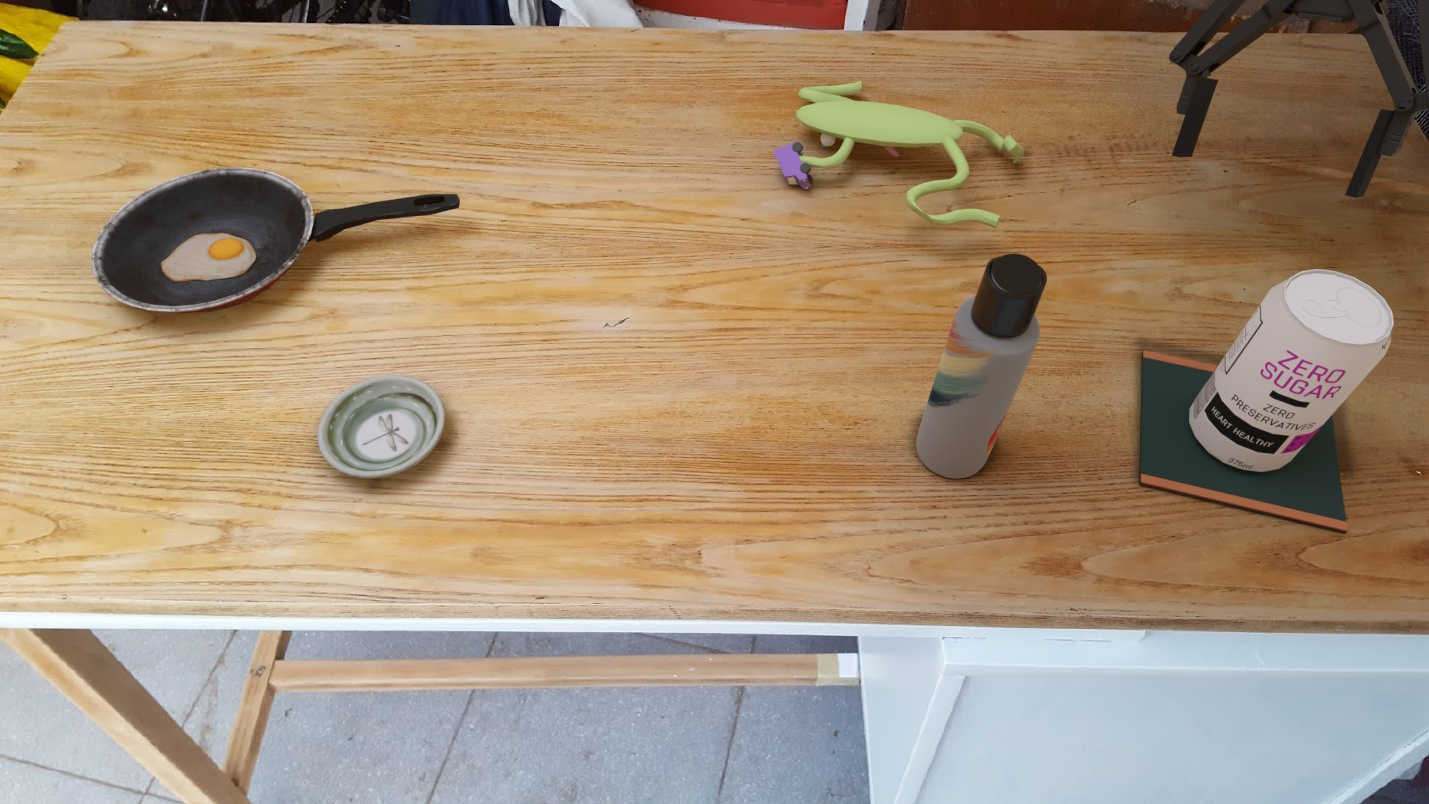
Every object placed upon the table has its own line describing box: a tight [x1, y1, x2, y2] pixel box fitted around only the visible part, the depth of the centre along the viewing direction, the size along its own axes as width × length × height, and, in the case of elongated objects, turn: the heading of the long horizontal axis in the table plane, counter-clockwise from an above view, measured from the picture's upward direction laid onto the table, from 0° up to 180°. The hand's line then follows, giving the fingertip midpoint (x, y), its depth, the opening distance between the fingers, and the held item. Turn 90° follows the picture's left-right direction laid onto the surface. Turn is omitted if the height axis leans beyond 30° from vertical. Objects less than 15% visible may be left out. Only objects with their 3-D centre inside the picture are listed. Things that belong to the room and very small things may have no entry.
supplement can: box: [1189, 268, 1395, 472], centre depth 70 cm, size 8×8×15 cm
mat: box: [1138, 350, 1349, 534], centre depth 76 cm, size 15×14×1 cm
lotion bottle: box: [915, 252, 1048, 480], centre depth 67 cm, size 6×6×20 cm
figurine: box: [773, 79, 1025, 229], centre depth 94 cm, size 18×27×6 cm
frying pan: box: [90, 166, 461, 315], centre depth 87 cm, size 19×32×4 cm, turn 102°
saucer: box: [316, 375, 446, 480], centre depth 74 cm, size 10×10×2 cm
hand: (1263, 175), depth 78 cm, fingers open, 13 cm apart
